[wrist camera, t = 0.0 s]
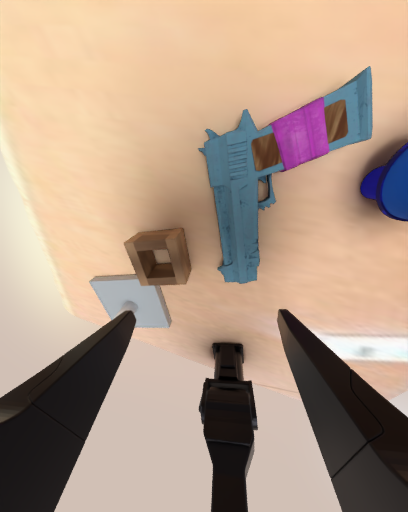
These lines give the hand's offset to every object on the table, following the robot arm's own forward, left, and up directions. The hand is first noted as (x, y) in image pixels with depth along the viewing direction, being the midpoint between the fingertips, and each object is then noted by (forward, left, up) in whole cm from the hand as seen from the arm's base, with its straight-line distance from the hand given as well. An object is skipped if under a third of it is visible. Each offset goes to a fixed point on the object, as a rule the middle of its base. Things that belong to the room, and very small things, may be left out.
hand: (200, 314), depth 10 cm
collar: (-2, +8, -15) cm, 17 cm away
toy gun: (+3, -7, -15) cm, 17 cm away
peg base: (-12, +17, -15) cm, 26 cm away
